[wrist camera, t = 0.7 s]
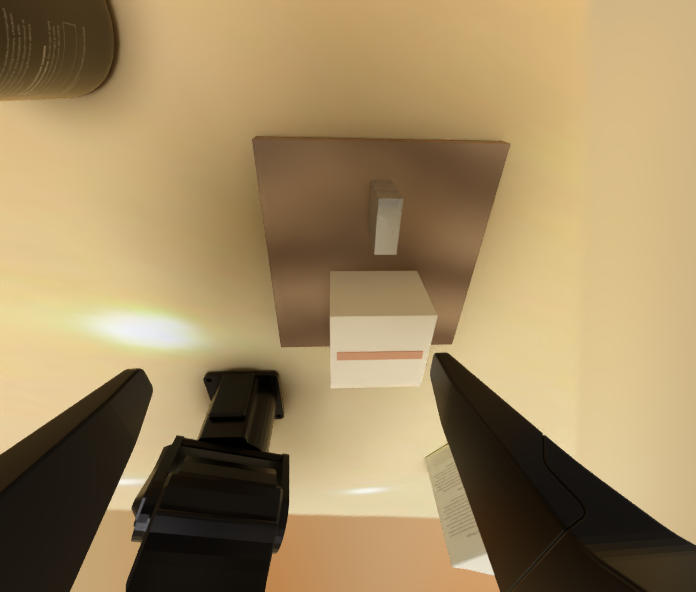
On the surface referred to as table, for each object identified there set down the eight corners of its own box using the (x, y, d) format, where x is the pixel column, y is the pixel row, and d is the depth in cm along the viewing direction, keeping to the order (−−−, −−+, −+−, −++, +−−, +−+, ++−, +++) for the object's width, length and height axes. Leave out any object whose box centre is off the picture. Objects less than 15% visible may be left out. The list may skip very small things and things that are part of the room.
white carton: (416, 270, 21) (438, 316, 17) (405, 335, 25) (421, 387, 20) (330, 271, 21) (329, 317, 17) (330, 337, 24) (330, 389, 20)
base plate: (448, 336, 26) (451, 344, 25) (282, 338, 25) (281, 346, 25) (502, 141, 18) (510, 143, 17) (256, 136, 17) (252, 139, 16)
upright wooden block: (386, 229, 19) (396, 254, 16) (367, 229, 19) (374, 254, 16) (391, 180, 18) (403, 198, 15) (370, 179, 18) (378, 198, 15)
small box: (499, 455, 38) (549, 564, 29) (465, 474, 40) (501, 580, 32) (458, 435, 35) (500, 550, 26) (423, 457, 37) (451, 569, 29)
